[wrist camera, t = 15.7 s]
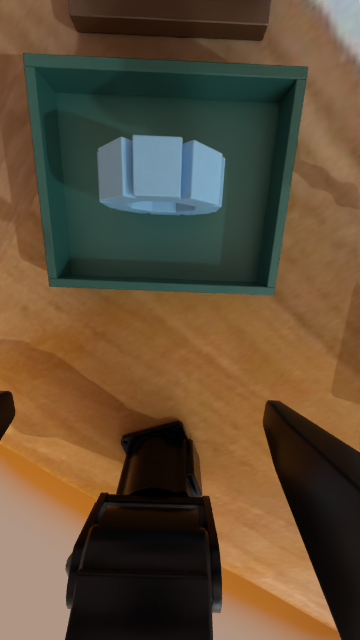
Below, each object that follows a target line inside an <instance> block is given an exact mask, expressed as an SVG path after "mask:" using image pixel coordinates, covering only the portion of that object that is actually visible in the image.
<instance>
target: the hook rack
mask: <svg viewBox="0 0 360 640" xmlns="http://www.w3.org/2000/svg"><path fill="white" fill-rule="evenodd" d="M68 3H69V15H70V18H71V20H72V22H73V24H74V26H75V28H76V30H77V31H78V32H96V33H117V34H137V35H158V36H178V37H199V38H220V39H240V40H262V39H263V37H264V34H265V32H266V29H267V26H268V22H269V13H270V4H271V0H68Z"/></svg>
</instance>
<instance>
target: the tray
mask: <svg viewBox="0 0 360 640" xmlns="http://www.w3.org/2000/svg"><path fill="white" fill-rule="evenodd" d="M23 60H24V70H25V79H26V88H27V97H28V105H29V114H30V123H31V131H32V140H33V149H34V158H35V166H36V175H37V184H38V193H39V201H40V210H41V219H42V227H43V236H44V245H45V254H46V262H47V271H48V278H49V286H50V287H73V288H98V289H124V290H149V291H174V292H200V293H225V294H251V295H274V291H275V285H276V278H277V272H278V265H279V259H280V252H281V245H282V239H283V232H284V226H285V219H286V212H287V206H288V199H289V193H290V186H291V180H292V173H293V166H294V160H295V153H296V147H297V140H298V133H299V127H300V120H301V114H302V107H303V100H304V94H305V87H306V79H307V73H308V67H302V66H281V65H260V64H240V63H219V62H198V61H177V60H156V59H135V58H114V57H93V56H72V55H51V54H30V53H23ZM133 135H148V136H172V137H182V139H183V142H182V144H184V143H186V142H189V141H192V140H196V141H198V142H200V143H202V144H204V145H206V146H208V147H210V148H212V149H214V150H216V151H218V152H220V153H222V157H224V158H225V169H224V182H223V194H222V206H221V207H220V208H219V209H218V210H217V211H216V212H211V213H209V214H197V215H183V214H180V215H158V214H150V213H143V214H142V213H136V212H129V211H122V210H117V209H116V208H110V207H108V206H106V205H104V204H102V203H101V202H100V200H99V181H98V162H97V152H98V148H100V147H102V146H104V145H106V144H108V143H110V142H112V141H114V140H116V139H117V138H119V137H124V138H127V139H129V140H132V136H133Z"/></svg>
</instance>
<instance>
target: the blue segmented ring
mask: <svg viewBox="0 0 360 640" xmlns="http://www.w3.org/2000/svg"><path fill="white" fill-rule="evenodd" d="M182 142H183V139H182V137H172V136H148V135H133V136H132V140H129V139H127V138H124V137H119V138H117V139H116V140H114V141H112V142H110V143H108V144H106V145H104V146H102V147H100V148H98V152H97V162H98V181H99V200H100V202H101V203H102V204H104V205H106V206H108V207H110V208H116V209H117V210H122V211H129V212H136V213H142V214H143V213H150V214H158V215H180V214H183V215H197V214H209V213H211V212H216V211H217V210H218V209H219V208H220V207H221V206H222V194H223V182H224V169H225V158H224V157H222V153H220V152H218V151H216V150H214V149H212V148H210V147H208V146H206V145H204V144H202V143H200V142H198V141H196V140H192V141H189V142H186V143H184V144H182Z"/></svg>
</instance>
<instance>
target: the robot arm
mask: <svg viewBox="0 0 360 640" xmlns="http://www.w3.org/2000/svg"><path fill="white" fill-rule="evenodd" d="M14 416H15V406H14V401H13V395H12V393H11V392H9V391H0V440H1V438H2V437H3V435H4V433H5V432H6V430H7V429H8V427H9V425H10V424H11V422H12V420H13V419H14ZM177 426H179V428H177ZM263 427H264V431H265V434H266V438H267V442H268V445H269V449H270V453H271V456H272V460H273V463H274V467H275V470H276V473H277V475H278V478H279V481H280V483H281V486H282V488H283V491H284V494H285V496H286V499H287V501H288V504H289V506H290V509H291V511H292V514H293V517H294V519H295V522H296V524H297V527H298V529H299V532H300V535H301V537H302V540H303V542H304V545H305V547H306V550H307V553H308V555H309V558H310V560H311V563H312V565H313V568H314V570H315V573H316V576H317V578H318V581H319V583H320V586H321V588H322V591H323V594H324V596H325V599H326V601H327V604H328V606H329V609H330V611H331V614H332V617H333V619H334V622H335V624H336V627H337V629H338V632H339V634H340V637H341V640H360V452H358V451H357V450H355V449H353V448H352V447H350V446H349V445H347V444H346V443H344V442H343V441H341V440H339V439H338V438H336V437H335V436H333V435H332V434H330V433H328V432H327V431H325V430H324V429H322V428H321V427H319V426H318V425H316V424H314V423H313V422H311V421H310V420H308V419H307V418H305V417H303V416H302V415H300V414H299V413H297V412H296V411H294V410H293V409H291V408H289V407H288V406H286V405H285V404H283V403H282V402H280V401H274V400H268V401H267V402H266V405H265V411H264V417H263ZM125 440H127V441H125ZM121 445H122V447H123V449H124V451H125V453H126V457H125V461H124V465H123V469H122V473H121V477H120V480H119V484H118V488H117V492H116V494H108V493H102V492H101V494H100V496H99V498H98V500H97V502H96V503H95V504H94V507H93V508H92V511H91V512H90V515H89V517H88V519H87V521H86V523H85V525H84V527H83V529H82V531H81V533H80V535H79V537H78V539H77V541H76V544H75V545H74V548H73V552H72V554H71V555H70V556H69V558H68V560H67V564H66V572H67V575H68V577H69V578H68V584H67V593H66V605H67V608H68V609H71V612H70V617H69V623H68V627H67V633H66V638H65V640H213V630H212V629H213V627H212V613H220V612H221V606H222V577H221V562H220V552H219V544H218V538H217V533H216V528H215V523H214V518H213V513H212V508H211V503H210V498H209V496H202V484H201V473H200V461H199V456H198V454H197V451H196V448H195V446H194V443H193V440H191V439H188V436H187V434H186V431H185V428H184V426H183V424H182V422H180V421H176V422H173V423H169V424H165V425H161V426H158V427H154V428H150V429H146V430H143V431H139V432H135V433H131V434H128V435H124V436H123V437H122V439H121ZM201 496H202V497H201Z"/></svg>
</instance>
